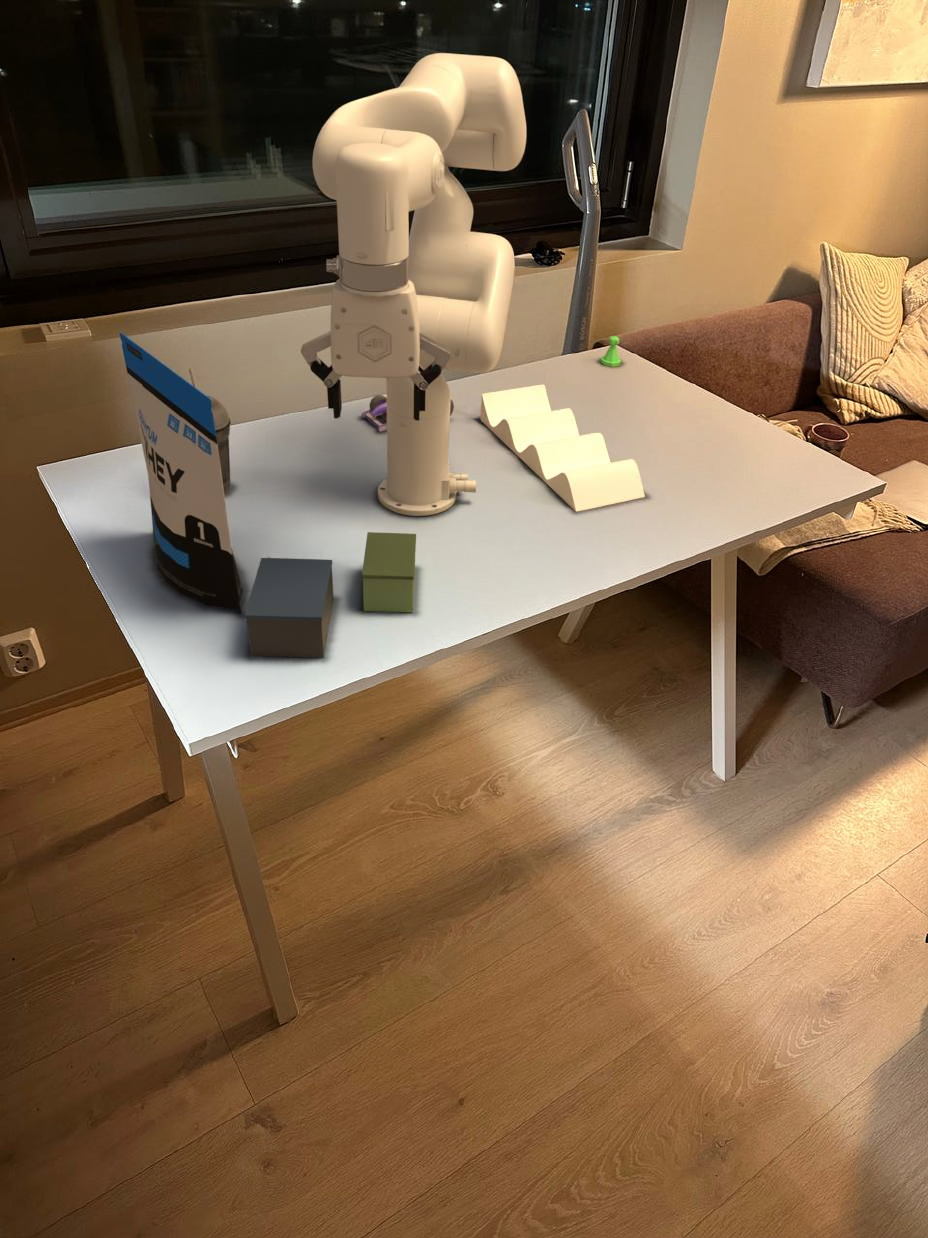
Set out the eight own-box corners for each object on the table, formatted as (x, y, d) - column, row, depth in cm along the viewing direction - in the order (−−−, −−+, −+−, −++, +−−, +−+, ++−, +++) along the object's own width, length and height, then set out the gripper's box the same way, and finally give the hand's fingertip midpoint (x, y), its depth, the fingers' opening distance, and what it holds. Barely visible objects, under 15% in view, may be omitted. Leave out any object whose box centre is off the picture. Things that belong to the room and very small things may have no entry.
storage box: (265, 597, 118) (261, 557, 114) (334, 599, 119) (332, 559, 115) (249, 656, 109) (244, 615, 105) (324, 658, 109) (321, 617, 105)
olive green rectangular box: (368, 567, 125) (367, 531, 121) (415, 569, 125) (416, 533, 121) (362, 611, 117) (361, 574, 113) (413, 613, 117) (413, 576, 113)
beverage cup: (228, 504, 136) (210, 381, 124) (184, 497, 137) (162, 375, 125) (246, 481, 142) (231, 362, 130) (204, 475, 143) (185, 356, 130)
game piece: (624, 363, 189) (629, 336, 185) (612, 368, 186) (616, 340, 183) (608, 357, 191) (613, 330, 188) (596, 362, 189) (600, 334, 185)
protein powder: (189, 522, 132) (154, 324, 113) (272, 601, 118) (249, 389, 99) (128, 542, 127) (81, 339, 108) (207, 627, 113) (170, 409, 94)
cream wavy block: (576, 511, 140) (580, 483, 136) (480, 419, 164) (481, 393, 161) (644, 497, 144) (650, 469, 141) (541, 409, 169) (544, 384, 166)
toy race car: (358, 415, 163) (357, 381, 159) (427, 399, 170) (428, 367, 166) (382, 436, 157) (382, 401, 153) (453, 419, 164) (455, 386, 160)
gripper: (290, 280, 93) (302, 427, 104) (453, 286, 94) (448, 430, 105) (299, 258, 99) (309, 399, 110) (452, 263, 100) (447, 402, 111)
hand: (377, 414), depth 108 cm, fingers open, 9 cm apart
